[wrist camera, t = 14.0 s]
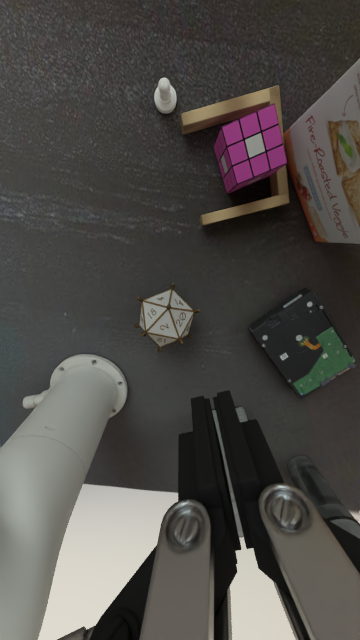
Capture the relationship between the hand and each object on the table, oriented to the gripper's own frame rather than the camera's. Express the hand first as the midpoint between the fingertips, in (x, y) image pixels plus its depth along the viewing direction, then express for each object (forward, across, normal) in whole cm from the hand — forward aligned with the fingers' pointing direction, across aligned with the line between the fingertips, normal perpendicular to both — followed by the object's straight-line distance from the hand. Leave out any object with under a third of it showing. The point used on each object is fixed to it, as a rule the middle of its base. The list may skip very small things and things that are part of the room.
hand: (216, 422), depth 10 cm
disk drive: (+27, -15, +12) cm, 33 cm away
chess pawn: (+27, -2, -23) cm, 36 cm away
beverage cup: (+27, -13, +38) cm, 49 cm away
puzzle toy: (+27, -10, -15) cm, 33 cm away
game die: (+27, +4, +2) cm, 28 cm away
